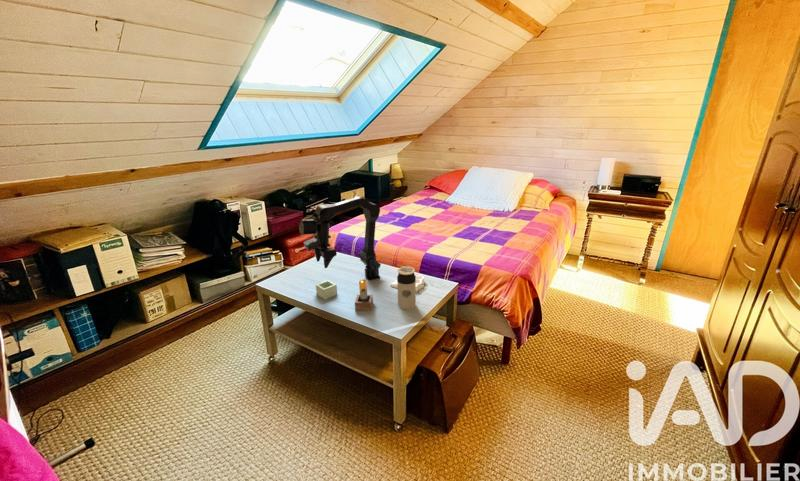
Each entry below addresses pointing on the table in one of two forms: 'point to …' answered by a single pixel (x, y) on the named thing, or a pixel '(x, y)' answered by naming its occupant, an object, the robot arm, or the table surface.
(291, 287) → the table surface
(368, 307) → the brown square open box
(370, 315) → the table surface
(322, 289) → the cream square hollow block
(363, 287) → the gold and grey cylinder
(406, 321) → the table surface
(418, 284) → the knuckle duster
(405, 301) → the travel mug
